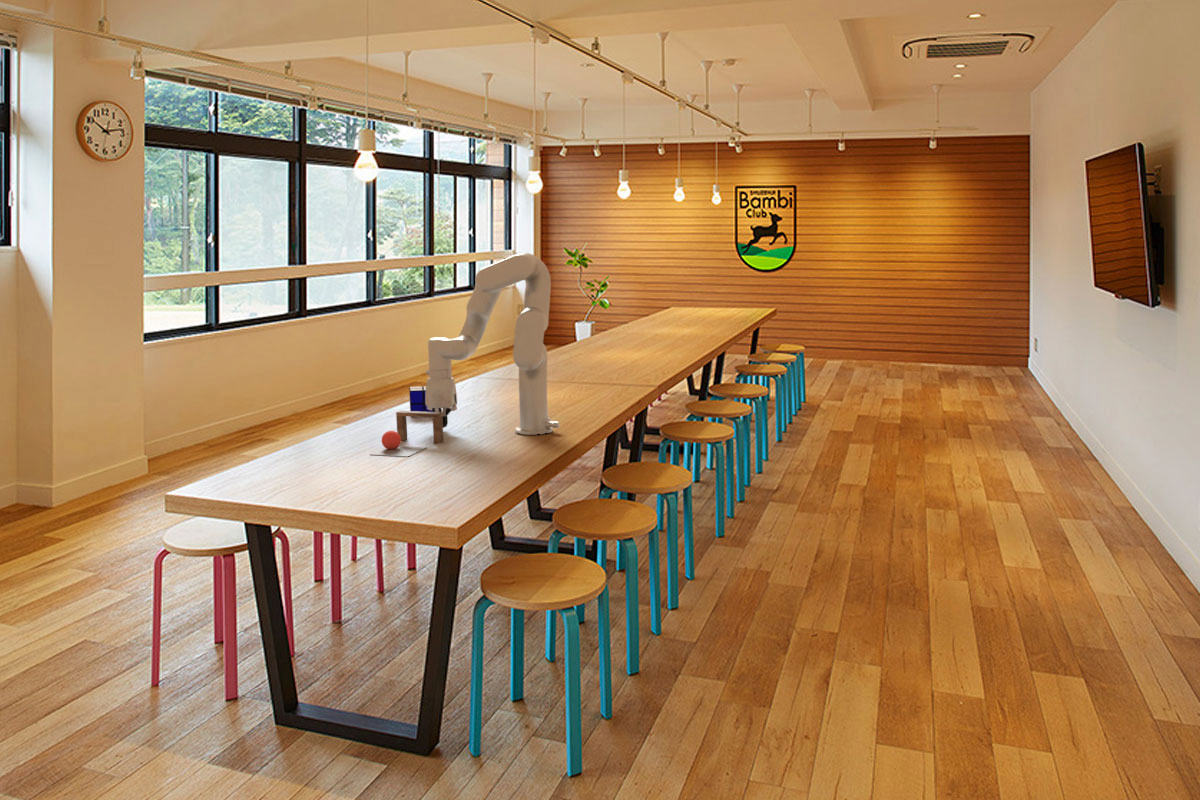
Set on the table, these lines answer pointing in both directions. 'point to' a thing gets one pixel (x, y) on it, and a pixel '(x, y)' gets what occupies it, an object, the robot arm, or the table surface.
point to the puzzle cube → (418, 399)
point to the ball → (391, 440)
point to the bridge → (436, 416)
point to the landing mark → (399, 451)
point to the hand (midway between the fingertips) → (442, 426)
